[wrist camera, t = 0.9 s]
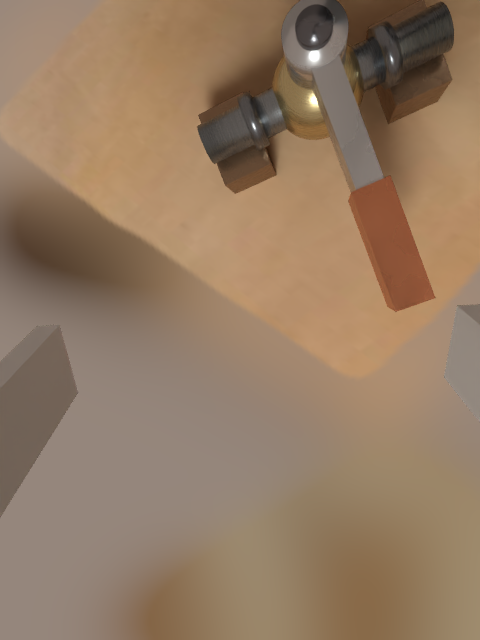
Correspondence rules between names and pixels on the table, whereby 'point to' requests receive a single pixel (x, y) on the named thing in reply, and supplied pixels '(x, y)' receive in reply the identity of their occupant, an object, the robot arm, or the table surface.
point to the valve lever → (354, 149)
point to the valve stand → (363, 74)
